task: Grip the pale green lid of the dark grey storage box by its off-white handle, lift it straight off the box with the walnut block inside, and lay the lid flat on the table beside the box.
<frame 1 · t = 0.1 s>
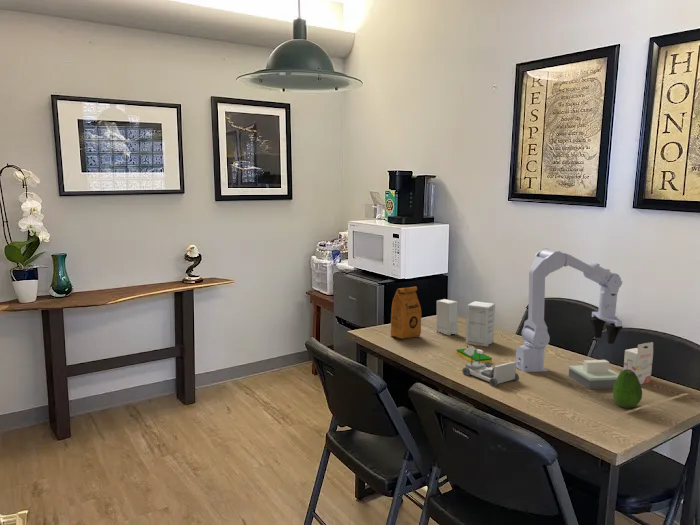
hand: (604, 340, 200), 10 cm above the table, tool pointing down, fingers open, 7 cm apart
walnut block: (594, 381, 184), point 1 cm above the table, touching storage box
coffee package: (405, 337, 236), on the table
avocado: (625, 408, 164), on the table
dish sponge: (473, 360, 208), on the table
skincare box: (446, 333, 243), on the table
ink cartridge box: (635, 383, 185), on the table
lid: (595, 373, 183), point 3 cm above the table, touching storage box
storage box: (594, 383, 184), on the table
supplement box: (479, 343, 229), on the table
toy car: (487, 377, 189), on the table
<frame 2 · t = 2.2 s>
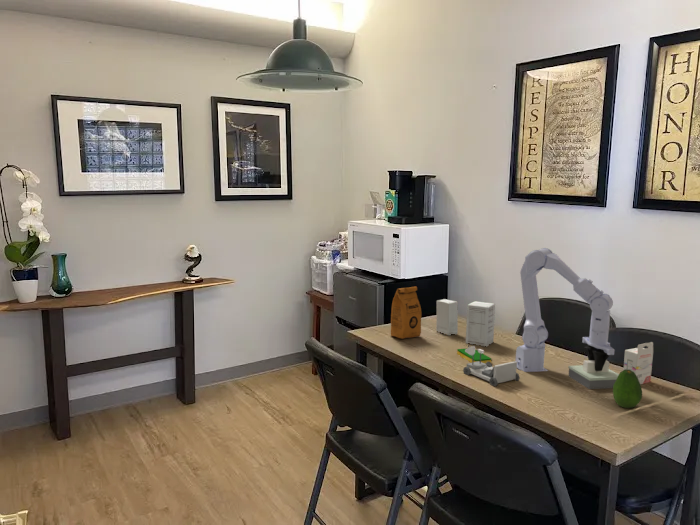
hand: (595, 369, 183), 5 cm above the table, tool pointing down, fingers closed on lid, 2 cm apart
lid: (595, 373, 183), point 3 cm above the table, touching gripper, storage box
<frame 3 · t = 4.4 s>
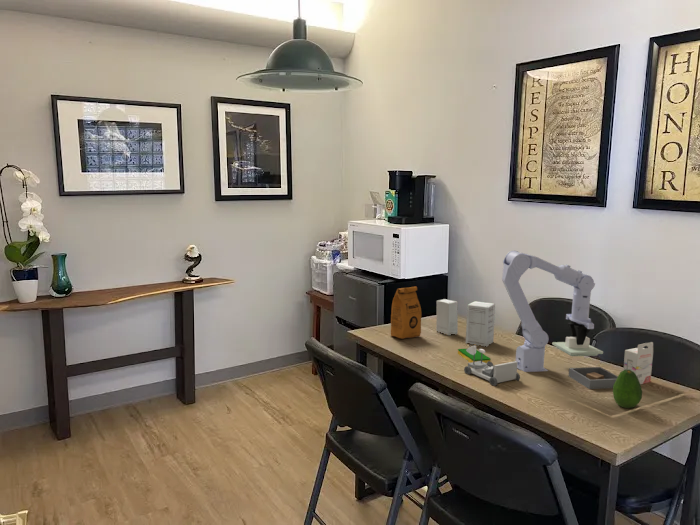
hand: (577, 343, 196), 10 cm above the table, tool pointing down, fingers closed on lid, 2 cm apart
lid: (576, 349, 196), point 8 cm above the table, touching gripper
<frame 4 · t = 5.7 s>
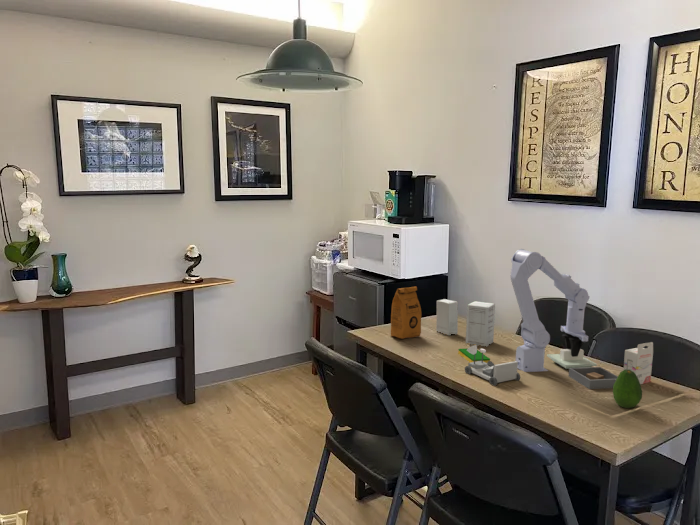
hand: (572, 355, 200), 4 cm above the table, tool pointing down, fingers closed on lid, 2 cm apart
lid: (571, 361, 200), point 2 cm above the table, touching gripper
when the fingers open (4 cm above the table, at t = 6.5 s): lid stays where it is, point 1 cm above the table.
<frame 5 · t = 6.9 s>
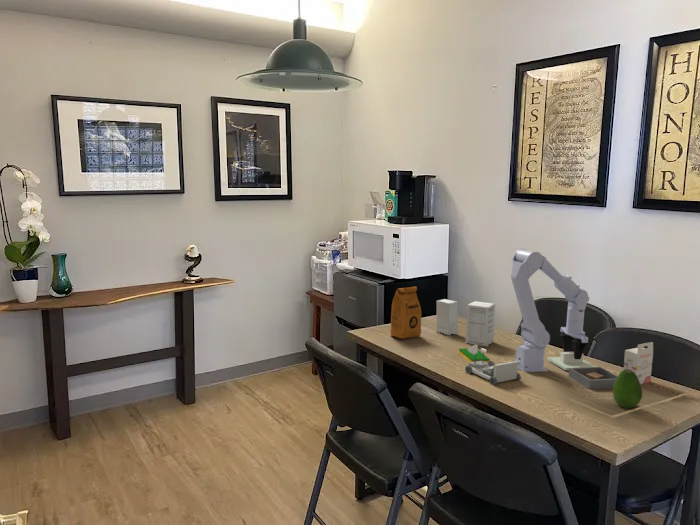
hand: (572, 356, 200), 4 cm above the table, tool pointing down, fingers open, 6 cm apart
lid: (571, 363, 201), point 1 cm above the table
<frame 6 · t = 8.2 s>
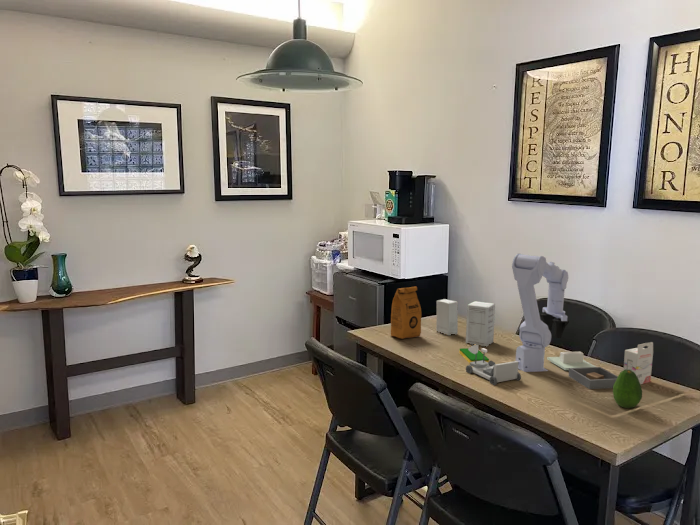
hand: (552, 334, 207), 10 cm above the table, tool pointing down, fingers open, 7 cm apart
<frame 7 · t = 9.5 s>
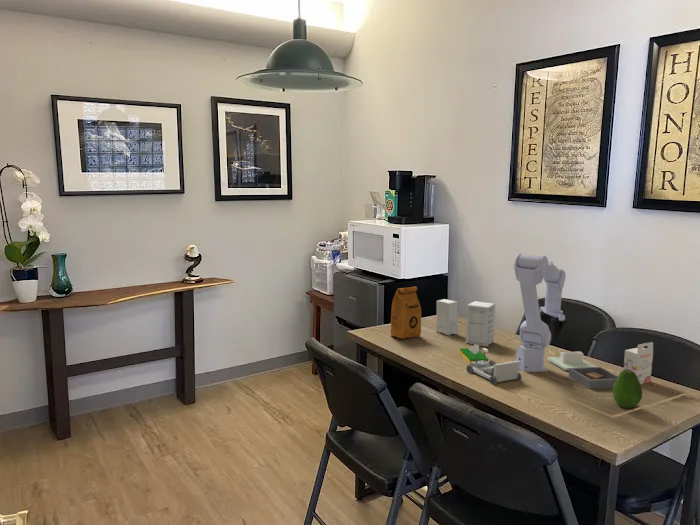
hand: (550, 334, 207), 10 cm above the table, tool pointing down, fingers open, 7 cm apart
at the end: lid inside the target area (0.2 cm from its centre), point 1.0 cm above the table; lid tilted 0°; the gripper is holding nothing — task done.
